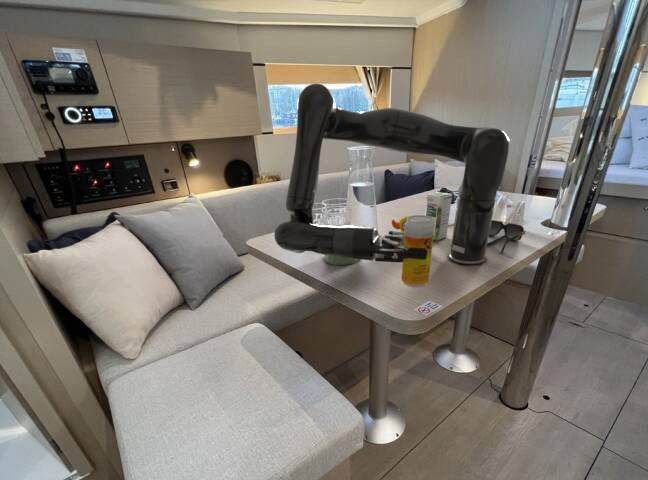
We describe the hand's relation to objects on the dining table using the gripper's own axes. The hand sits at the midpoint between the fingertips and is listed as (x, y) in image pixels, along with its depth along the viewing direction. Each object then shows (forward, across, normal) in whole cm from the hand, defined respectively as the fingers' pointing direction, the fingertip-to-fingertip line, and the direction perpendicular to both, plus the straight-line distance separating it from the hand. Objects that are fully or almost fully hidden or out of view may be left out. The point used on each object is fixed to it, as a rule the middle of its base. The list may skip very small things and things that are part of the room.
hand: (428, 248), depth 68 cm
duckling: (-9, +30, +12) cm, 33 cm away
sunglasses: (+16, +41, +12) cm, 46 cm away
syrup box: (-2, +42, +12) cm, 44 cm away
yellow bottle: (-2, 0, +9) cm, 9 cm away
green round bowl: (-26, +16, +11) cm, 33 cm away
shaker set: (+20, +60, +12) cm, 64 cm away
